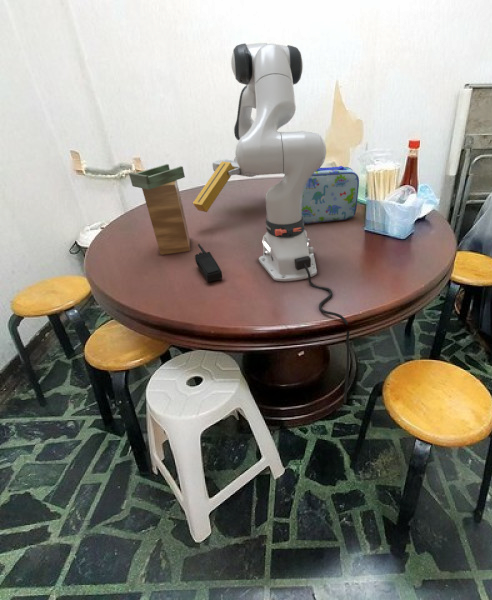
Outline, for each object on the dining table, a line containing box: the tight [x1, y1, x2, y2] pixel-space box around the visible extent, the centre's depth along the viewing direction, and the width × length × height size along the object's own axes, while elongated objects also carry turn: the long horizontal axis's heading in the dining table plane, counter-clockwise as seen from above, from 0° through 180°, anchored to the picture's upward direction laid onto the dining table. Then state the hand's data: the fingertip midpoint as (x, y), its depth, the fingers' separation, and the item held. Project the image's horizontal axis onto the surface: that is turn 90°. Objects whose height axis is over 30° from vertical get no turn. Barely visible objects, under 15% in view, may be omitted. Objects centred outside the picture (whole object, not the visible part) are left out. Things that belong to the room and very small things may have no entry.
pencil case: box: [192, 161, 234, 213], centre depth 136 cm, size 22×4×4 cm
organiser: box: [128, 163, 191, 256], centre depth 120 cm, size 15×14×28 cm
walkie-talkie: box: [194, 243, 223, 283], centre depth 112 cm, size 6×6×20 cm
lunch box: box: [302, 165, 360, 224], centre depth 140 cm, size 26×11×21 cm, turn 101°
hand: (222, 172), depth 138 cm, fingers closed on pencil case, 4 cm apart
